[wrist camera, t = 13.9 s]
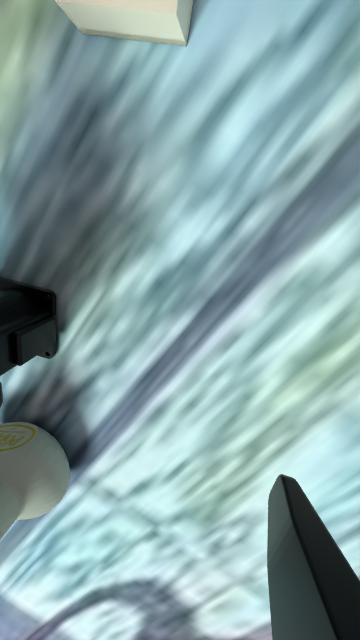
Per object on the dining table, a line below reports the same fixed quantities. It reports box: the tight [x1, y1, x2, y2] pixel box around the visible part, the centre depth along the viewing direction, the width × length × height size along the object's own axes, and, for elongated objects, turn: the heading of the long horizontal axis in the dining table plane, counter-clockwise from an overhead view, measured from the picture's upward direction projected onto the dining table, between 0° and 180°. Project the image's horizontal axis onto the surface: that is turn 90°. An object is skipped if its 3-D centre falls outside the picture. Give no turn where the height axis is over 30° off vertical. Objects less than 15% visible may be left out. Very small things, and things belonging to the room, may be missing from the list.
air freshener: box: [0, 422, 70, 540], centre depth 25 cm, size 11×8×10 cm
